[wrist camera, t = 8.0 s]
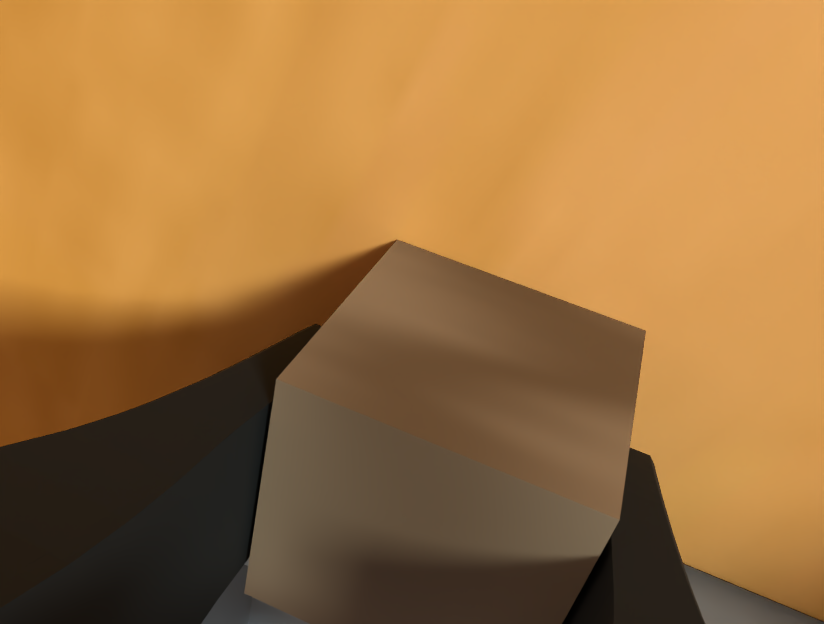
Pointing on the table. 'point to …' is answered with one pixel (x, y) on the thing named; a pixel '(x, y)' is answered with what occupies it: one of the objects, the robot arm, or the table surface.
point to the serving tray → (718, 600)
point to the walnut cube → (444, 452)
